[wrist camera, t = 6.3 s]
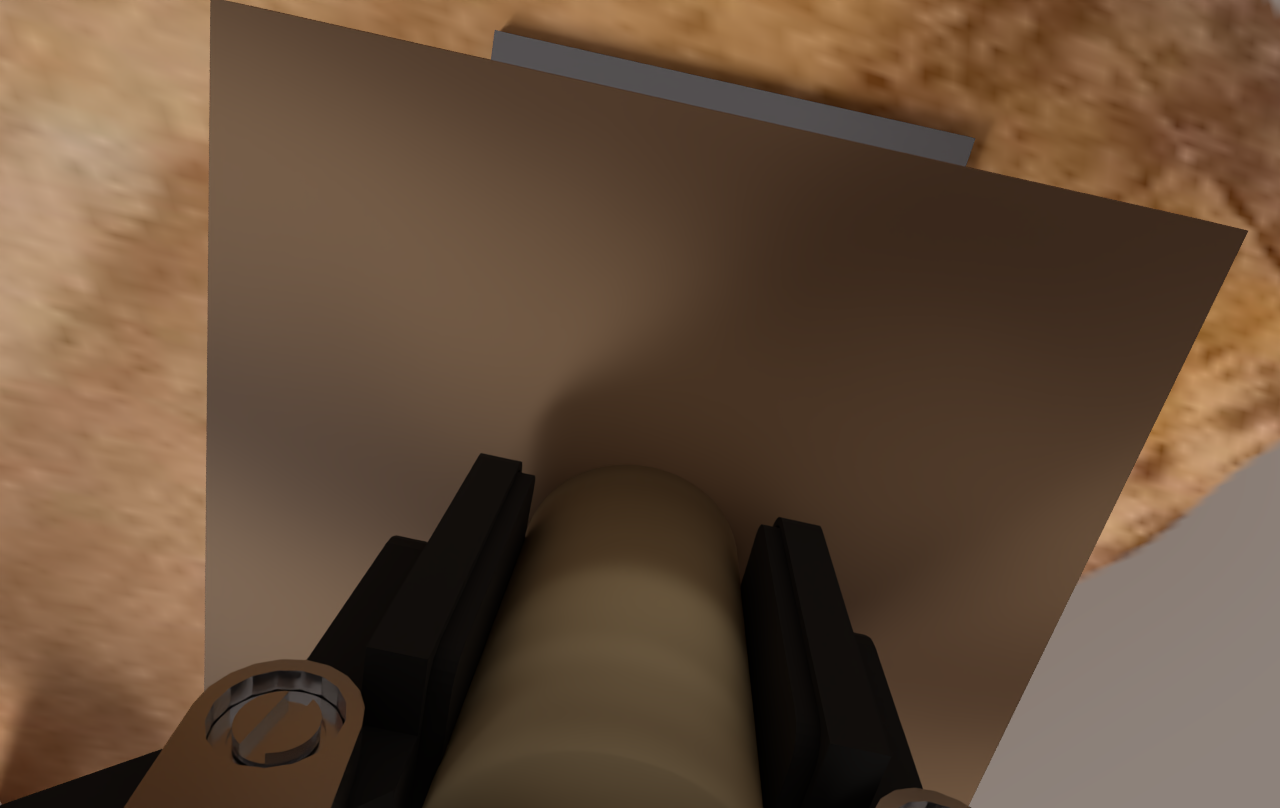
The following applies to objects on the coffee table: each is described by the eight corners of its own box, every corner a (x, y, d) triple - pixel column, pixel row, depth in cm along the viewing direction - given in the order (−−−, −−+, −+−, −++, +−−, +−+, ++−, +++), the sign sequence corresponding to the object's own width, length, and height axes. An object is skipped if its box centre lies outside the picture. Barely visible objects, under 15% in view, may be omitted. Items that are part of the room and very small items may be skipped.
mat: (498, 31, 23) (494, 30, 23) (970, 137, 23) (975, 138, 23) (441, 461, 28) (437, 466, 28) (830, 548, 28) (832, 554, 28)
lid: (256, 6, 10) (-321, -114, 4) (1195, 218, 10) (1831, 369, 4) (235, 744, 14) (-62, 1166, 9) (892, 879, 14) (1021, 1376, 9)
